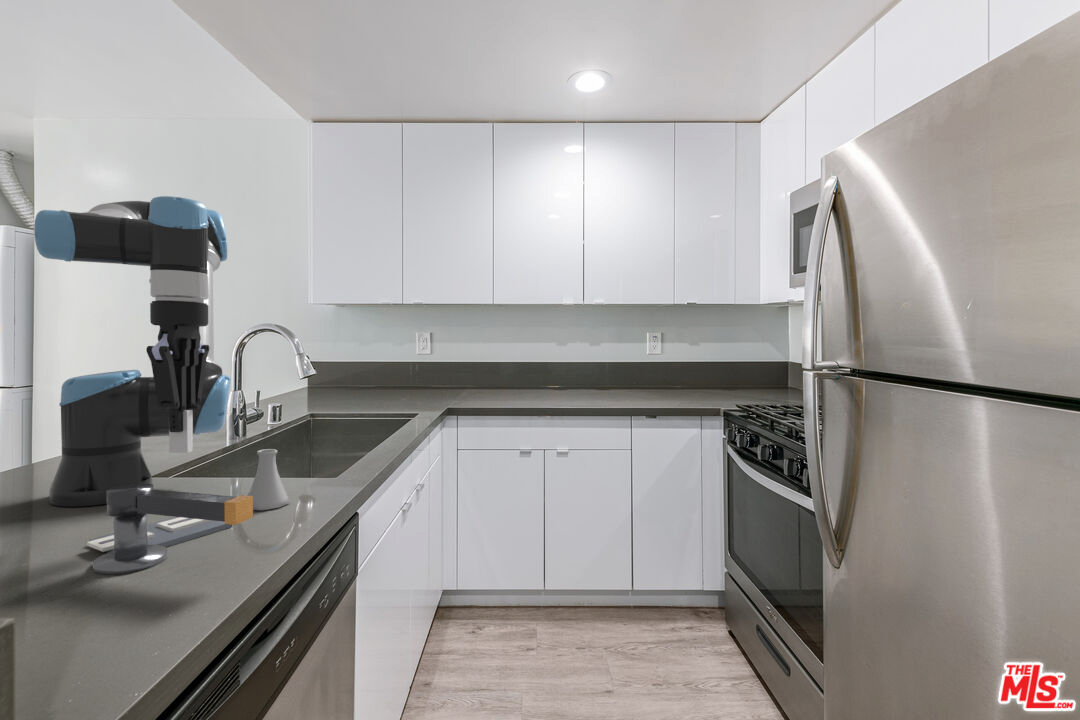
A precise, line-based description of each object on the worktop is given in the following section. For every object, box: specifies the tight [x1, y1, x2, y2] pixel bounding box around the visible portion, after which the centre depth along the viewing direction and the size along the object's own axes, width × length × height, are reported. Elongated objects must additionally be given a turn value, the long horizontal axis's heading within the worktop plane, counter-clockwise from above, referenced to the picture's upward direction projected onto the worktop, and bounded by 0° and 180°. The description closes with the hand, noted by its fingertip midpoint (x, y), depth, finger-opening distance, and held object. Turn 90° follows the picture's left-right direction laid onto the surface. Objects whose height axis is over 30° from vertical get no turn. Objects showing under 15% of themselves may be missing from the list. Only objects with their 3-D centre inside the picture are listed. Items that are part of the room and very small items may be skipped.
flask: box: [247, 448, 291, 511], centre depth 98 cm, size 7×7×10 cm
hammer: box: [106, 483, 254, 526], centre depth 71 cm, size 20×5×3 cm, turn 78°
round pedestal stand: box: [92, 513, 168, 576], centre depth 73 cm, size 8×8×6 cm
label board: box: [86, 516, 233, 553], centre depth 82 cm, size 10×16×1 cm, turn 152°
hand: (181, 451), depth 85 cm, fingers closed
